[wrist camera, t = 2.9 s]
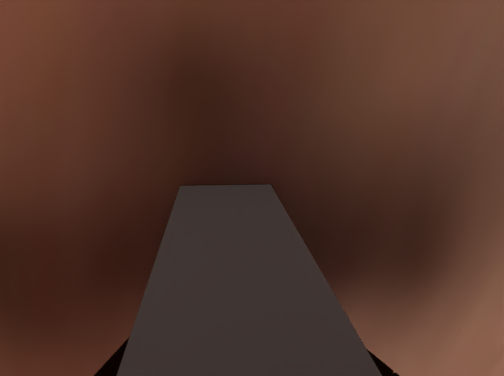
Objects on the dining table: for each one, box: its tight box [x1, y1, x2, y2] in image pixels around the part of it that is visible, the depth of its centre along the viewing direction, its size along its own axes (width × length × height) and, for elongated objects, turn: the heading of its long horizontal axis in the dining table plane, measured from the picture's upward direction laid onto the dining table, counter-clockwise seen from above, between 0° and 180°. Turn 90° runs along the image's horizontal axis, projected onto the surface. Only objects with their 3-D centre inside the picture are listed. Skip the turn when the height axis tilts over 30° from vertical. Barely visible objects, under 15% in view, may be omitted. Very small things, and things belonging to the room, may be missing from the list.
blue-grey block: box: [117, 184, 382, 376], centre depth 7 cm, size 3×6×9 cm, turn 179°
